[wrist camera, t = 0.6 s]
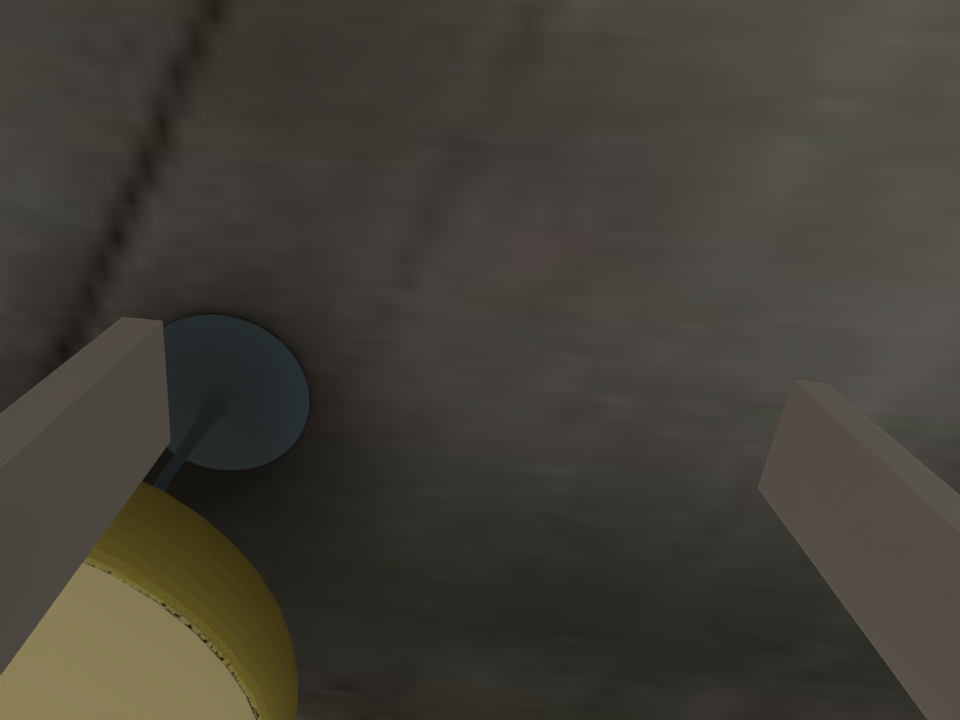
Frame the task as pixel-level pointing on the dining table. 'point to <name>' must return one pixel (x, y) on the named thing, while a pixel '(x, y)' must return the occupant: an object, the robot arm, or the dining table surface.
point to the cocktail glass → (178, 562)
